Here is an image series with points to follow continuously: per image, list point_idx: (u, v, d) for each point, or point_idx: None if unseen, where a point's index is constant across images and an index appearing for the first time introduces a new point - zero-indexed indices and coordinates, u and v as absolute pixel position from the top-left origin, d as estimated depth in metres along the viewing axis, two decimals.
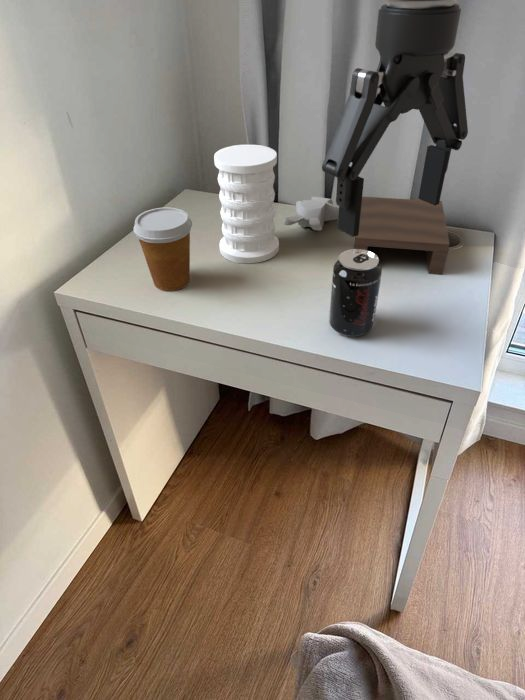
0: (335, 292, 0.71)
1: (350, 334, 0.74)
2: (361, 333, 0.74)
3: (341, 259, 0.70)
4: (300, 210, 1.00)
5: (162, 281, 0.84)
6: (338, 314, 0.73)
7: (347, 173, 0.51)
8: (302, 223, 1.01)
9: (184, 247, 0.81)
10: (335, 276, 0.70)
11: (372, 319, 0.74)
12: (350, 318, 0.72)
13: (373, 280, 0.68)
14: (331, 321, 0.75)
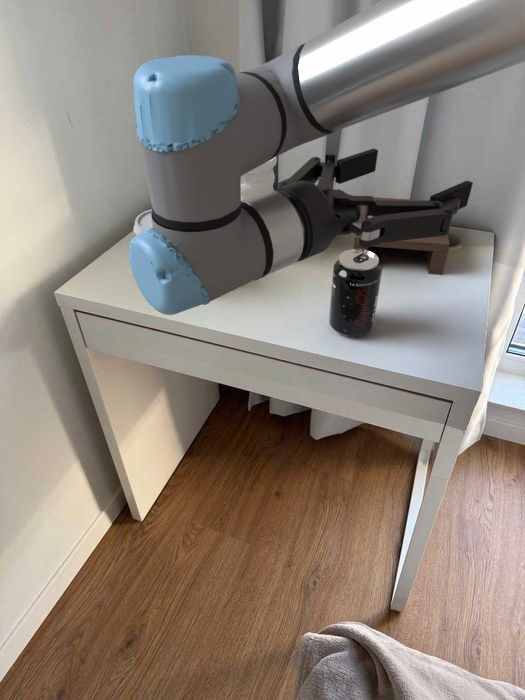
0: (335, 292, 0.71)
1: (350, 334, 0.74)
2: (361, 333, 0.74)
3: (341, 259, 0.70)
4: None
5: None
6: (338, 314, 0.73)
7: (439, 209, 0.51)
8: None
9: None
10: (335, 276, 0.70)
11: (372, 319, 0.74)
12: (350, 318, 0.72)
13: (373, 280, 0.68)
14: (331, 321, 0.75)
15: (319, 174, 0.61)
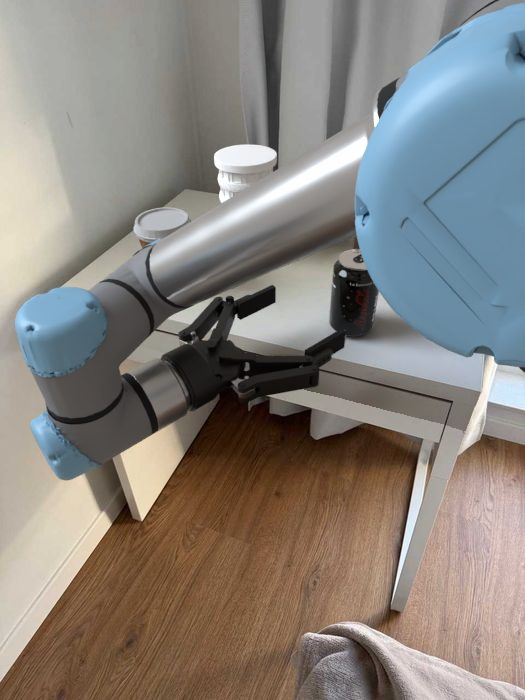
0: (335, 292, 0.71)
1: (350, 334, 0.74)
2: (361, 333, 0.74)
3: (341, 259, 0.70)
4: None
5: None
6: (338, 314, 0.73)
7: (310, 364, 0.59)
8: None
9: None
10: (335, 276, 0.70)
11: (372, 319, 0.74)
12: (350, 318, 0.72)
13: None
14: (331, 321, 0.75)
15: (222, 312, 0.69)
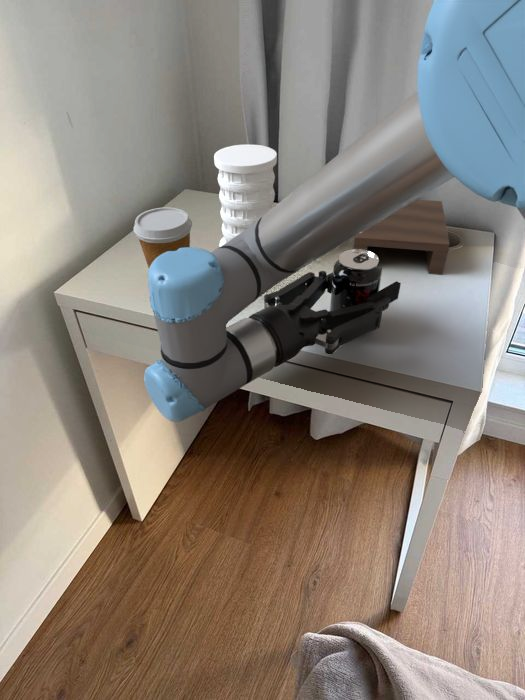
0: (335, 292, 0.71)
1: None
2: None
3: (341, 259, 0.70)
4: None
5: None
6: None
7: (374, 308, 0.68)
8: None
9: (184, 247, 0.81)
10: (335, 276, 0.70)
11: None
12: None
13: (373, 280, 0.68)
14: None
15: None
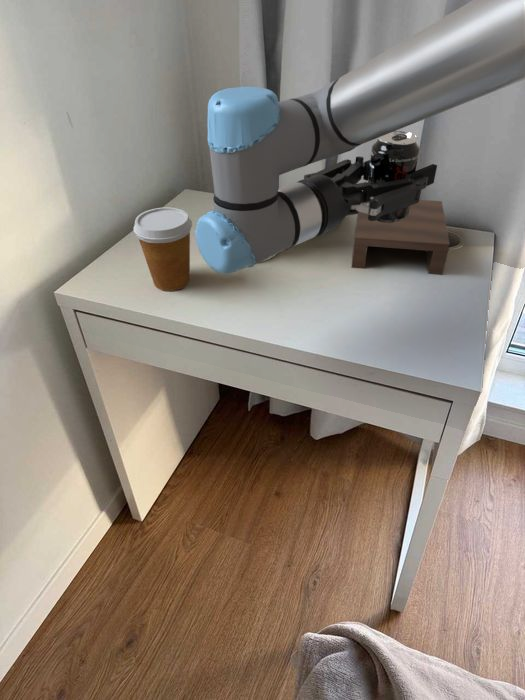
0: (373, 173, 0.72)
1: (387, 218, 0.75)
2: (398, 217, 0.75)
3: (380, 138, 0.71)
4: None
5: (162, 281, 0.84)
6: None
7: (413, 183, 0.69)
8: None
9: (184, 247, 0.81)
10: (373, 155, 0.71)
11: None
12: None
13: (412, 156, 0.69)
14: None
15: None
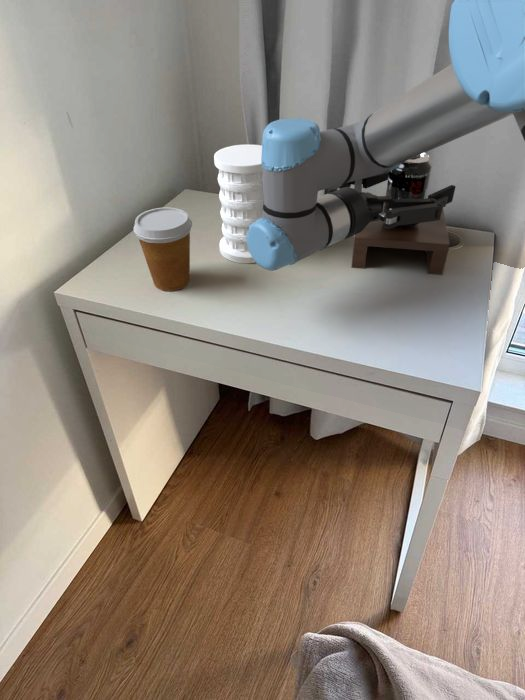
0: (391, 187, 0.85)
1: (402, 225, 0.87)
2: (411, 224, 0.87)
3: None
4: None
5: (162, 281, 0.84)
6: None
7: None
8: None
9: (184, 247, 0.81)
10: (392, 171, 0.84)
11: None
12: None
13: (425, 173, 0.82)
14: None
15: (351, 182, 0.89)
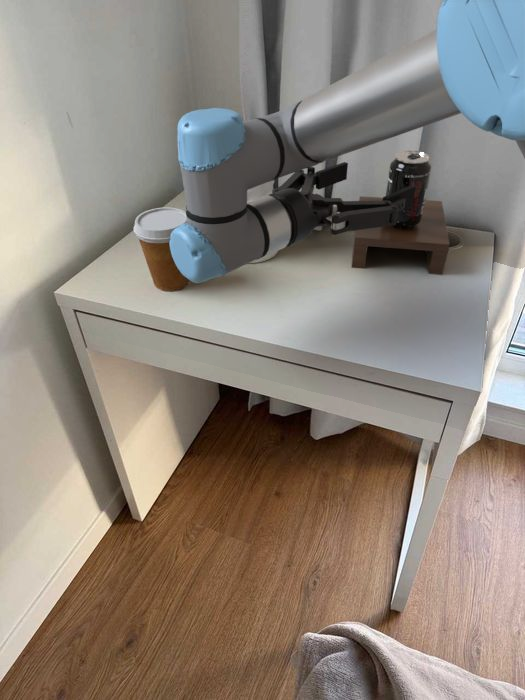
0: (391, 187, 0.85)
1: (402, 225, 0.87)
2: (411, 224, 0.87)
3: (397, 157, 0.83)
4: None
5: (162, 281, 0.84)
6: None
7: None
8: None
9: None
10: (392, 171, 0.84)
11: (421, 212, 0.87)
12: (403, 209, 0.86)
13: (425, 173, 0.82)
14: None
15: (303, 182, 0.80)
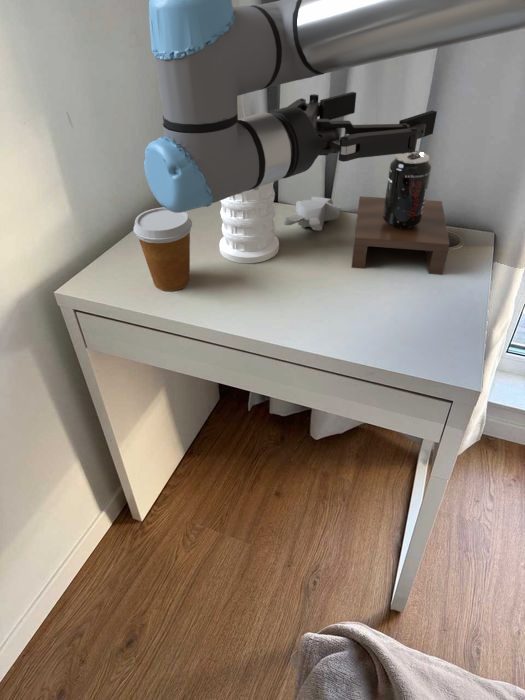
0: (391, 187, 0.85)
1: (402, 225, 0.87)
2: (411, 224, 0.87)
3: (397, 157, 0.84)
4: (300, 210, 1.00)
5: (162, 281, 0.84)
6: (392, 207, 0.86)
7: None
8: (302, 223, 1.01)
9: (184, 247, 0.81)
10: (392, 171, 0.84)
11: (421, 212, 0.87)
12: (403, 209, 0.86)
13: (425, 172, 0.82)
14: (385, 215, 0.89)
15: None
